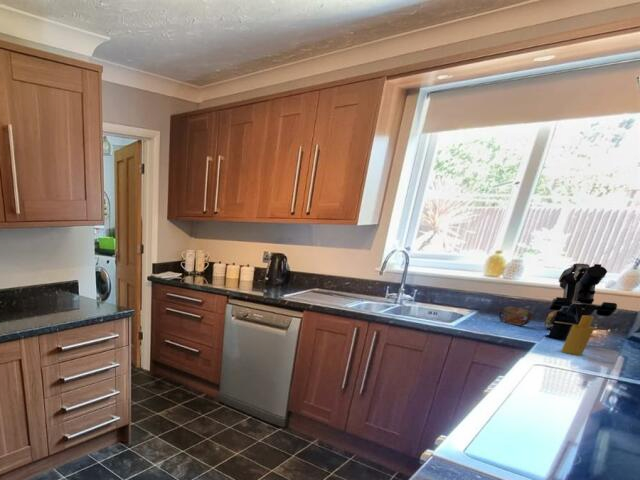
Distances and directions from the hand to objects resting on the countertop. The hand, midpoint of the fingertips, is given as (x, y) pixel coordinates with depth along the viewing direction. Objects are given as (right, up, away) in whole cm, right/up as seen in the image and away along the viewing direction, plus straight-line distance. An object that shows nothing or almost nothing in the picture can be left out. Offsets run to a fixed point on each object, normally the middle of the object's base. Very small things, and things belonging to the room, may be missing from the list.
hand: (578, 322), depth 173 cm
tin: (+16, +6, +47) cm, 50 cm away
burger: (+30, +1, +37) cm, 48 cm away
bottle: (-5, -12, -2) cm, 13 cm away
